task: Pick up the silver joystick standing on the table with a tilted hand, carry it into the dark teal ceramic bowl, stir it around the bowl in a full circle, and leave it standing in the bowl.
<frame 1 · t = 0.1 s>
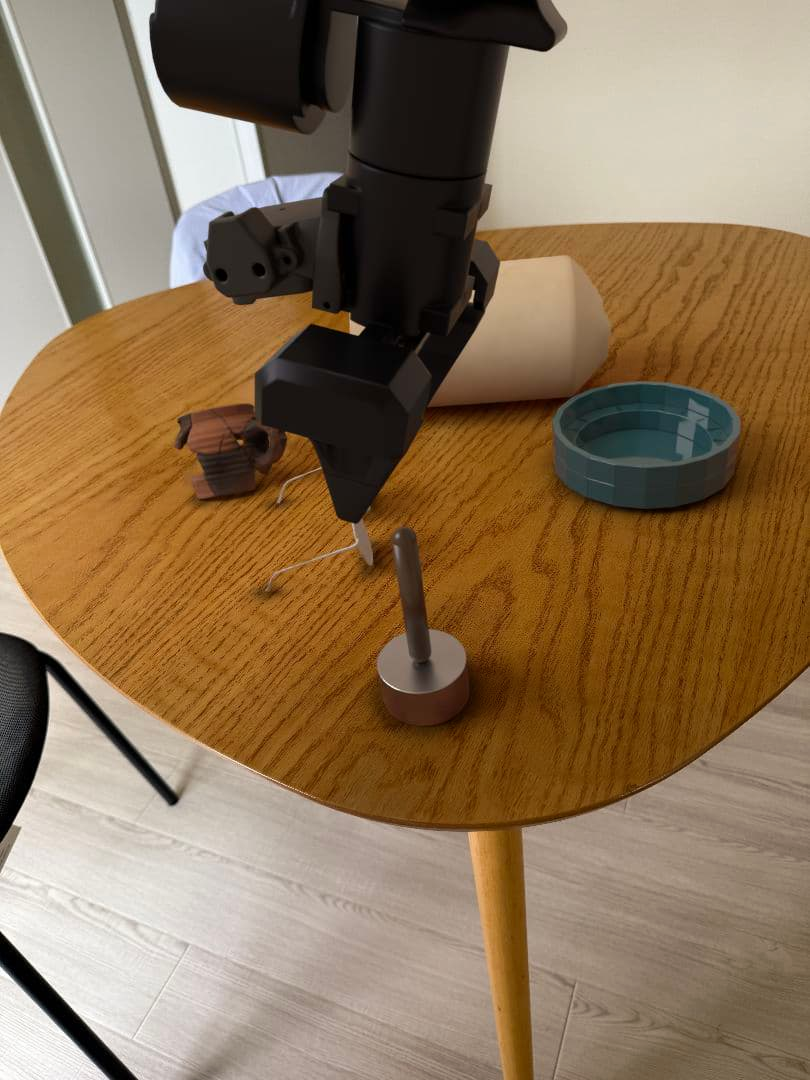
hand: (377, 470, 42), 16 cm above the table, tool pointing down, fingers open, 9 cm apart
candle: (485, 397, 84), on the table
bowl: (640, 465, 69), on the table
silver joystick: (426, 692, 50), on the table
pottery mug: (241, 476, 76), on the table
sunglasses: (322, 539, 66), on the table
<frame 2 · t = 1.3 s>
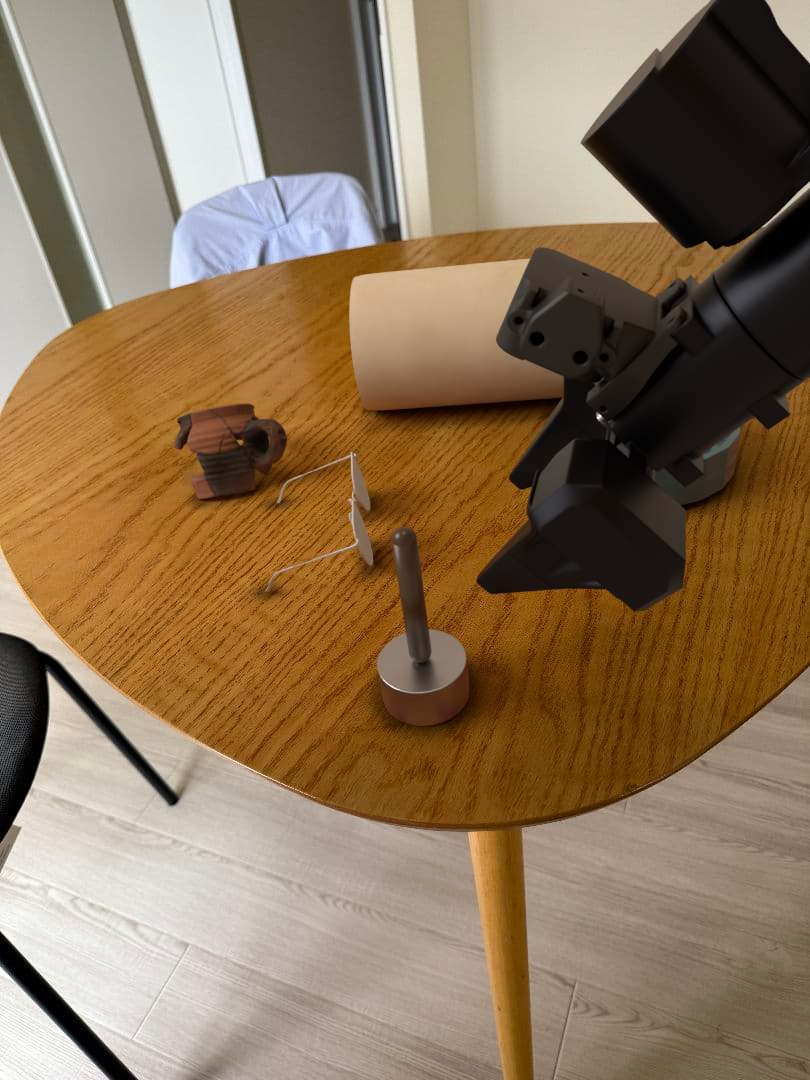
hand: (500, 530, 41), 13 cm above the table, tool tilted 45°, fingers open, 9 cm apart
nothing on the table moved.
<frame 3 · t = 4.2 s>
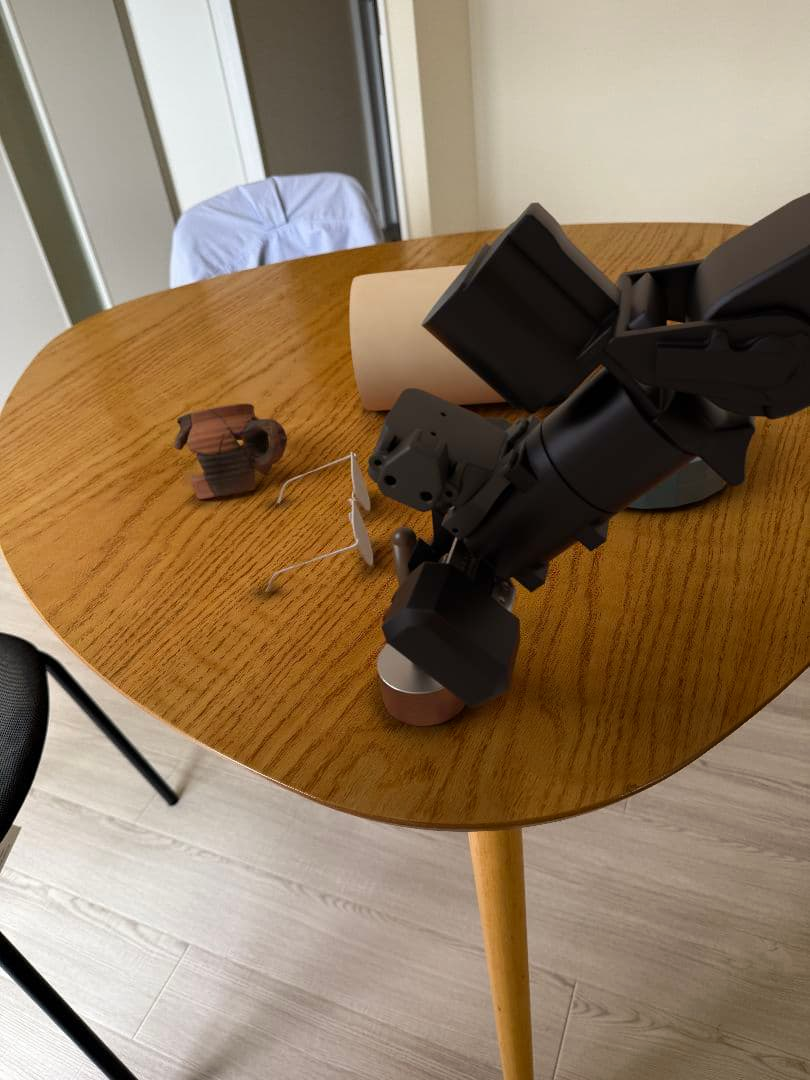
hand: (393, 614, 47), 7 cm above the table, tool tilted 45°, fingers closed on silver joystick
silver joystick: (426, 692, 50), on the table, touching gripper
everything else where it was.
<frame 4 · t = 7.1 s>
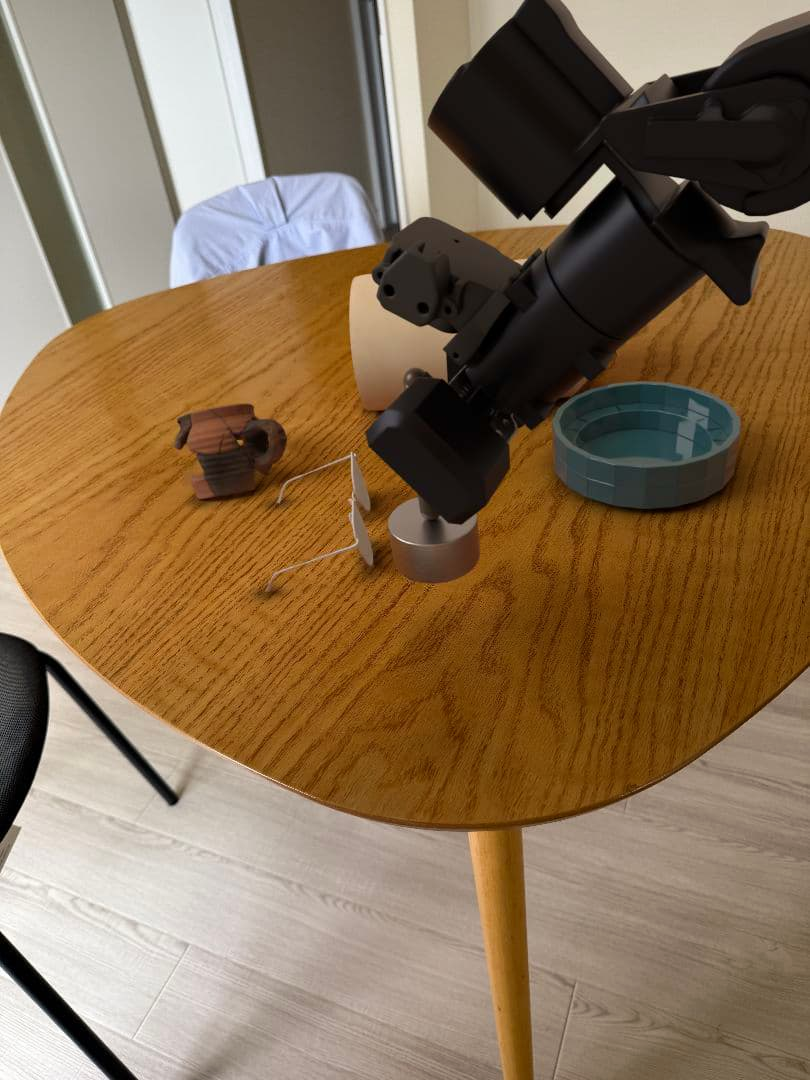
hand: (405, 465, 47), 13 cm above the table, tool tilted 45°, fingers closed on silver joystick
silver joystick: (436, 556, 50), point 7 cm above the table, touching gripper
everything else where it was.
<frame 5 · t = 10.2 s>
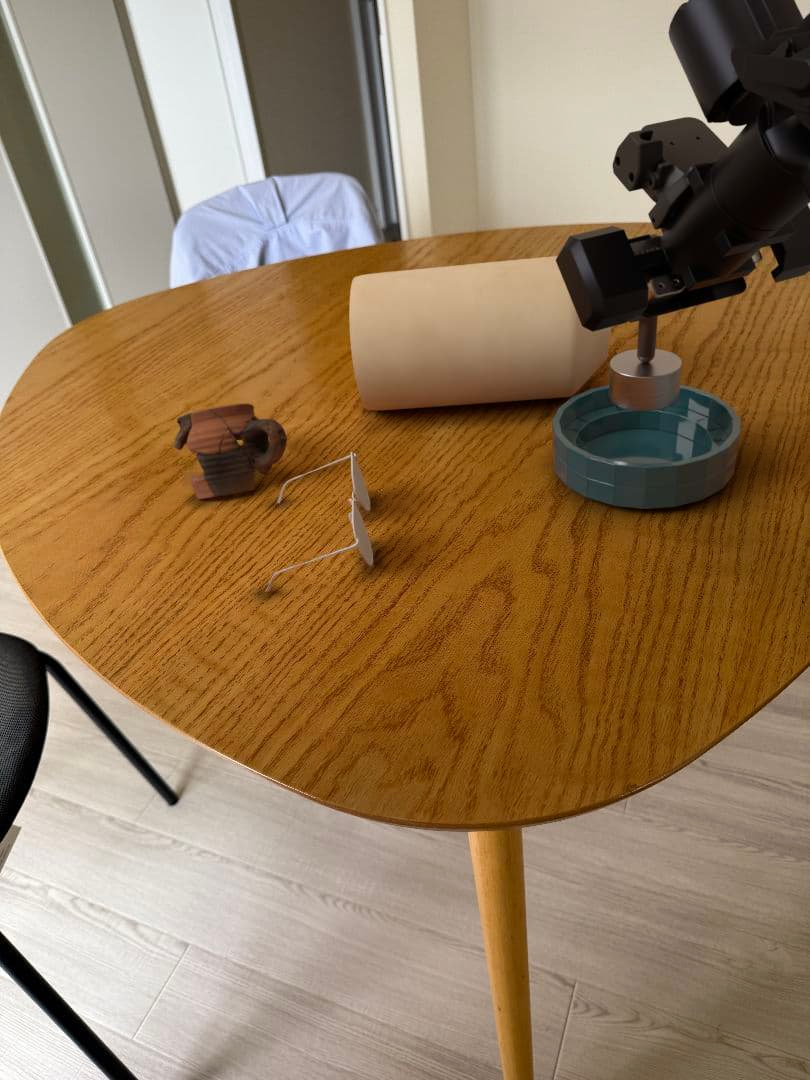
hand: (638, 314, 62), 13 cm above the table, tool tilted 45°, fingers closed on silver joystick
silver joystick: (643, 395, 65), point 7 cm above the table, touching gripper
everything else where it was.
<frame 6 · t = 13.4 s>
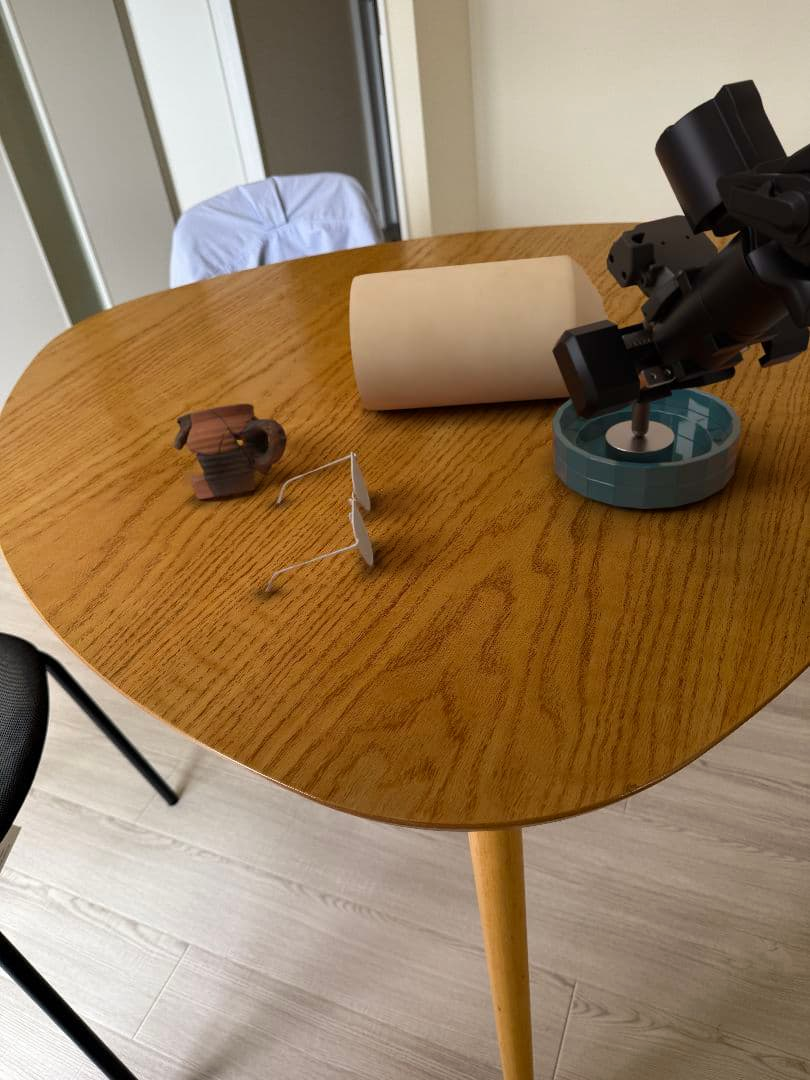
hand: (632, 390, 65), 7 cm above the table, tool tilted 45°, fingers closed on silver joystick
silver joystick: (637, 466, 67), point 1 cm above the table, touching gripper
everything else where it was.
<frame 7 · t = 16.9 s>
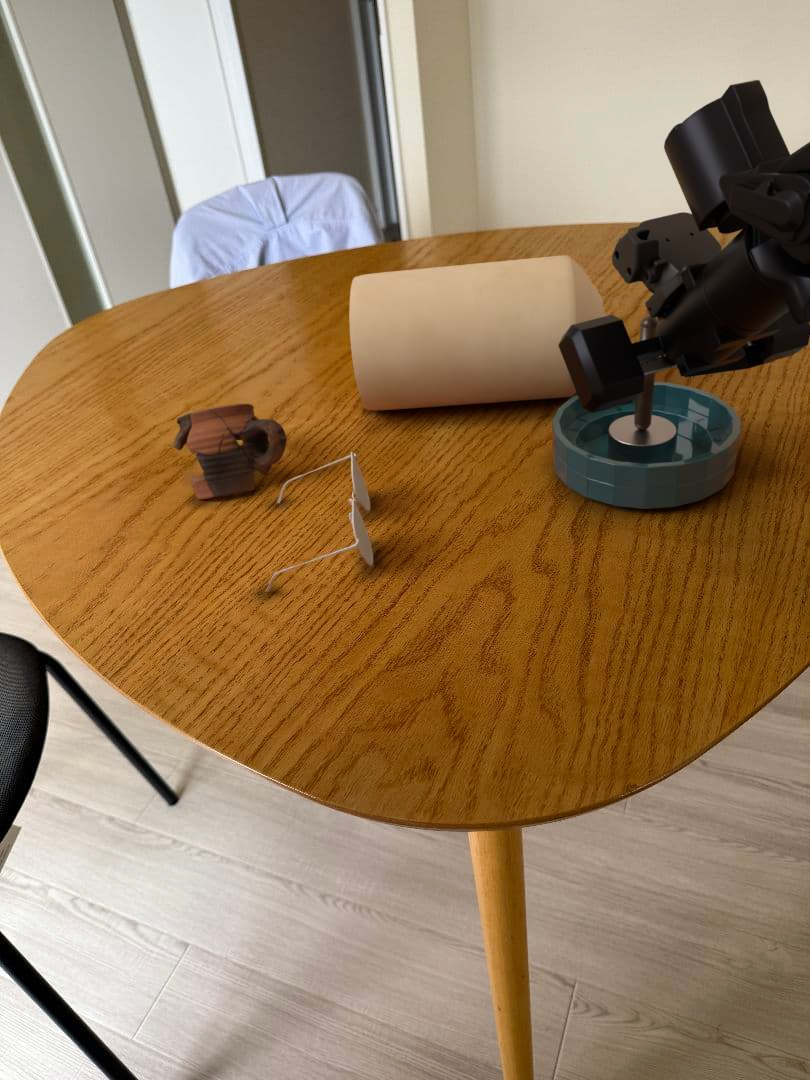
hand: (636, 384, 66), 7 cm above the table, tool tilted 45°, fingers open, 9 cm apart
silver joystick: (640, 459, 69), point 1 cm above the table, touching bowl
everything else where it was.
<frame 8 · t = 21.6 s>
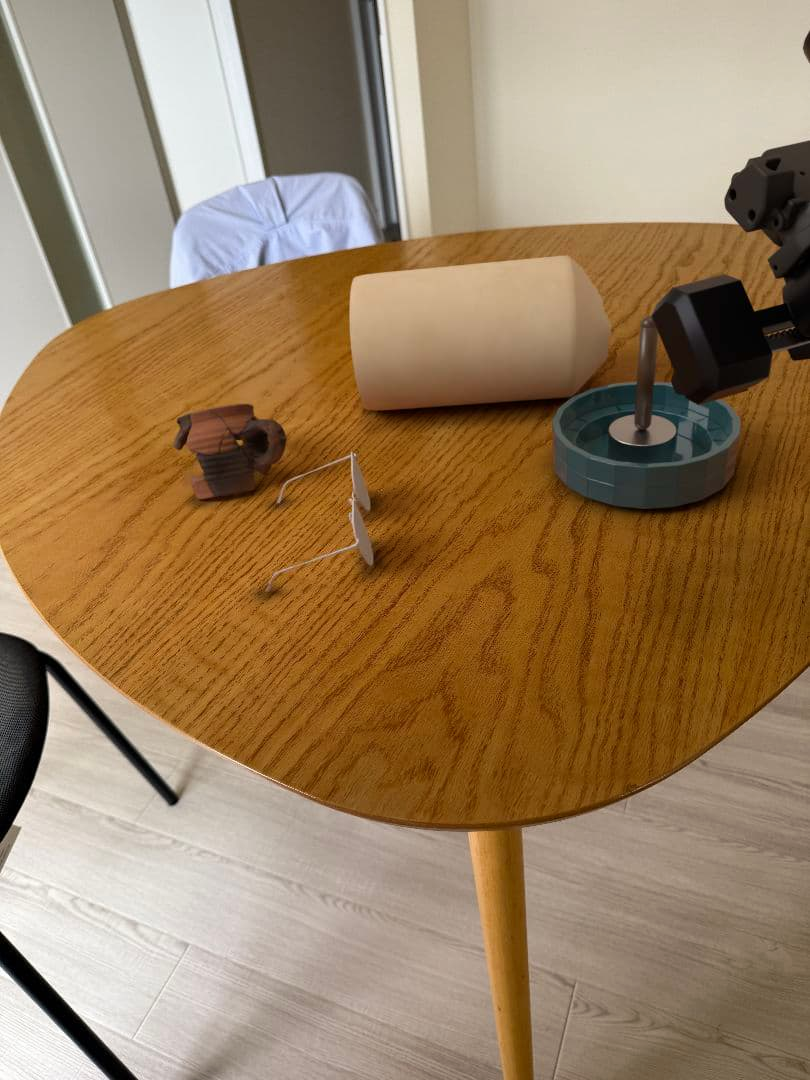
hand: (734, 370, 52), 14 cm above the table, tool tilted 45°, fingers open, 9 cm apart
nothing on the table moved.
at the end: silver joystick inside the target area in the bowl (0.1 cm from its centre), point 0.6 cm above the bowl's base; silver joystick tilted 0°; silver joystick moved 31.7 cm from its start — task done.
